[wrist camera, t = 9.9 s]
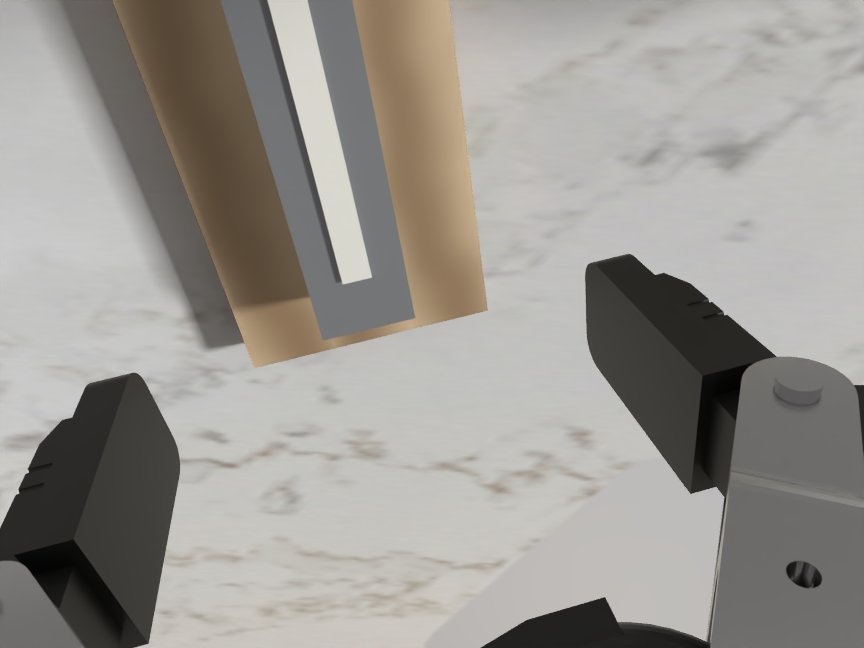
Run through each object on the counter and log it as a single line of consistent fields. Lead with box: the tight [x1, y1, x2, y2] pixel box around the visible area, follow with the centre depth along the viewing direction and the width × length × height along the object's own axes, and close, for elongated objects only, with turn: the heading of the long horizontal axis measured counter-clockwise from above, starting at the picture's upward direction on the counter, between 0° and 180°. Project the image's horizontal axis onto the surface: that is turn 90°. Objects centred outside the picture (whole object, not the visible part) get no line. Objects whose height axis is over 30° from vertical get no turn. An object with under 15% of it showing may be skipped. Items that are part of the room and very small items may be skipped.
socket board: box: [112, 0, 487, 368], centre depth 27 cm, size 12×22×2 cm, turn 9°
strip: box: [221, 0, 415, 341], centre depth 25 cm, size 4×16×7 cm, turn 9°
